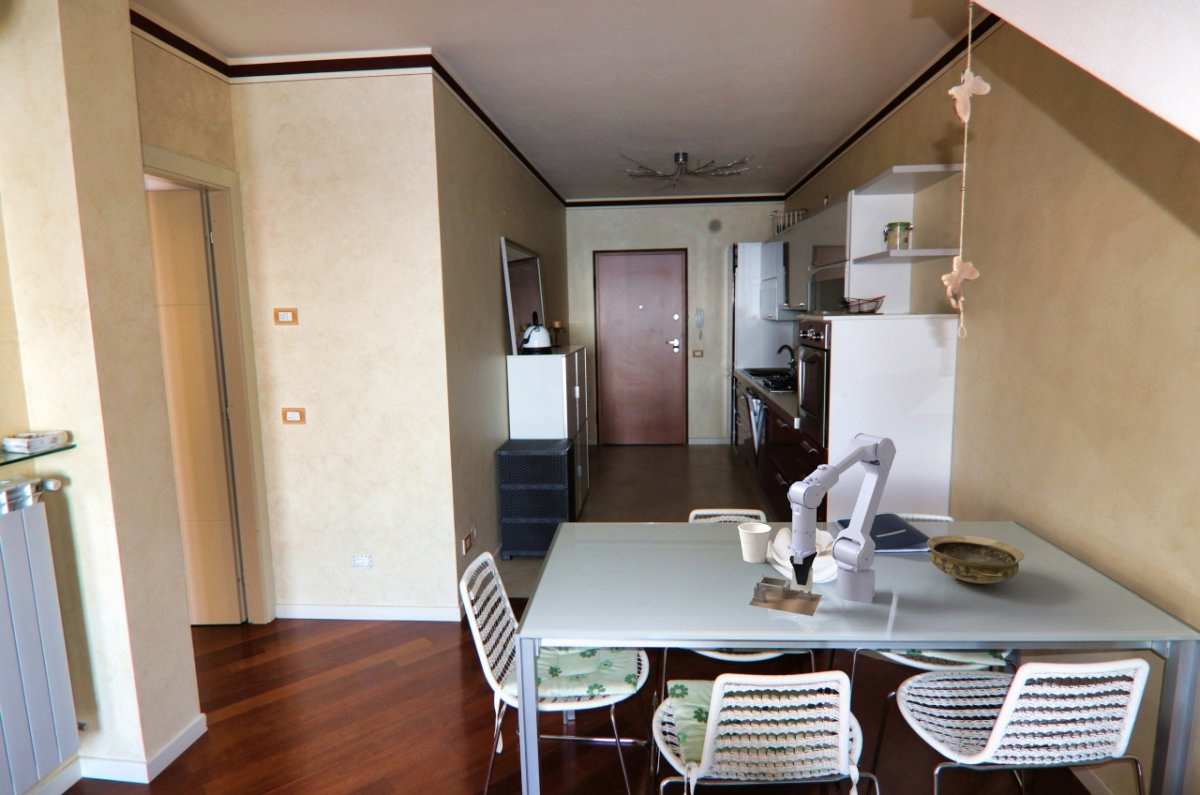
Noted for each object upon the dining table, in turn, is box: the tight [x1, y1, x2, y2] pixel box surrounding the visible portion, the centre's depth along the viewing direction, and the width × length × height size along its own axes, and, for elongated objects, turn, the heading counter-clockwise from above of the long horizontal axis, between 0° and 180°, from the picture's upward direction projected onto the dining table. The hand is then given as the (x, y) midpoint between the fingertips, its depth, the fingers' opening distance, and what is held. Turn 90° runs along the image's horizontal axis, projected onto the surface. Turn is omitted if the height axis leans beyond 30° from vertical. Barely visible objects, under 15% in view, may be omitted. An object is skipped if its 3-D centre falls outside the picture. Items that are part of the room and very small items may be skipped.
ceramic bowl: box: [926, 534, 1025, 588], centre depth 193 cm, size 30×24×10 cm
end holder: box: [755, 575, 792, 599], centre depth 187 cm, size 8×6×3 cm
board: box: [748, 589, 823, 617], centre depth 182 cm, size 16×14×1 cm
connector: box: [791, 566, 814, 592], centre depth 175 cm, size 4×3×6 cm, turn 63°
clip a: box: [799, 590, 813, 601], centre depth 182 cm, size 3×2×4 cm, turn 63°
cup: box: [737, 522, 772, 564], centre depth 211 cm, size 10×10×11 cm
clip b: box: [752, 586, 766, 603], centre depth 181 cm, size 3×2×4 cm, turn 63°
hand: (803, 582), depth 175 cm, fingers closed on connector, 3 cm apart
